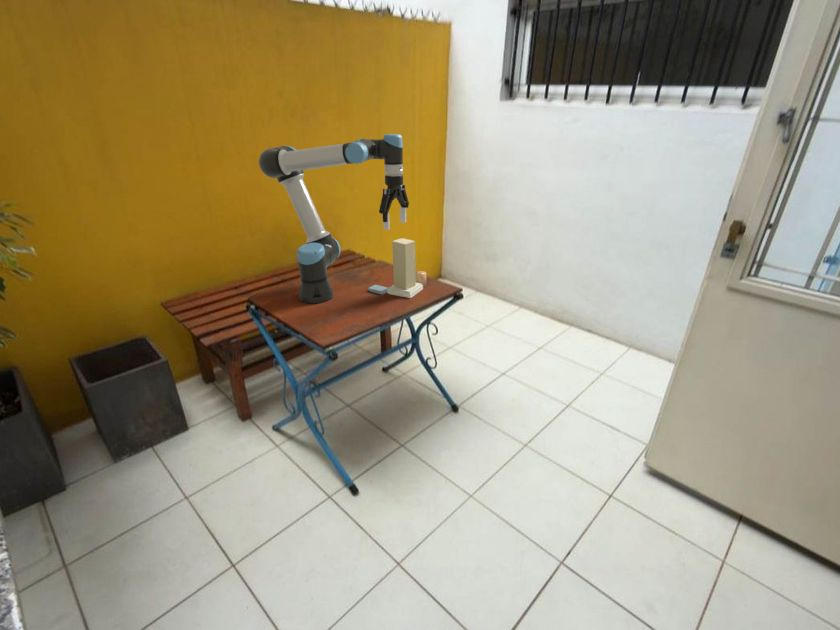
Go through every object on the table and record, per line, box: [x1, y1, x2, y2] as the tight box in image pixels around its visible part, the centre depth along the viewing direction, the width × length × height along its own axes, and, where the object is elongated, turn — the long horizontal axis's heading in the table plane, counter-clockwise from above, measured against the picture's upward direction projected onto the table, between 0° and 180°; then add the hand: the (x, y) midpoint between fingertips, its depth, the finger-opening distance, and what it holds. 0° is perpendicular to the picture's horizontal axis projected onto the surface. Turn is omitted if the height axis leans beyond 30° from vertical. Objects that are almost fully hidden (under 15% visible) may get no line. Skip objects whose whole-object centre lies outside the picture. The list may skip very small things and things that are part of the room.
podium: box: [386, 283, 424, 299], centre depth 198 cm, size 12×12×3 cm
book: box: [367, 284, 389, 295], centre depth 199 cm, size 8×5×2 cm, turn 55°
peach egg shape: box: [415, 270, 427, 287], centre depth 204 cm, size 5×5×6 cm
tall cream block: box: [391, 237, 416, 289], centre depth 193 cm, size 8×7×21 cm
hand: (395, 225), depth 187 cm, fingers open, 13 cm apart
